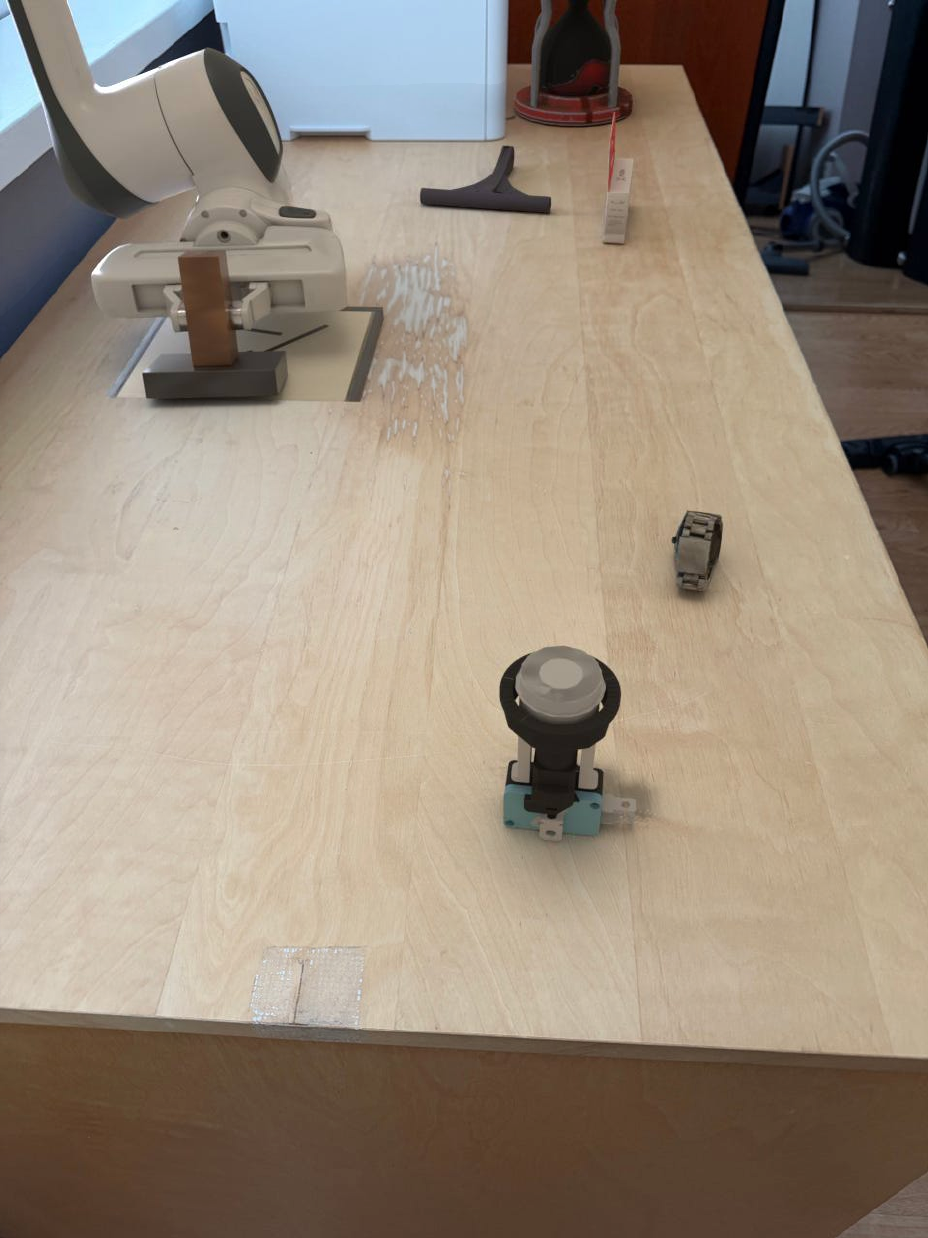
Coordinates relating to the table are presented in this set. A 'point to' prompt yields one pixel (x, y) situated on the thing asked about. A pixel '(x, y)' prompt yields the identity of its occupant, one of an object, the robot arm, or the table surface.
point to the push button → (559, 743)
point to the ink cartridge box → (617, 194)
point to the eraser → (212, 342)
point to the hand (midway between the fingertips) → (210, 322)
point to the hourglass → (575, 69)
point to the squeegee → (490, 191)
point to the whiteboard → (314, 343)
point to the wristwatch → (697, 549)
